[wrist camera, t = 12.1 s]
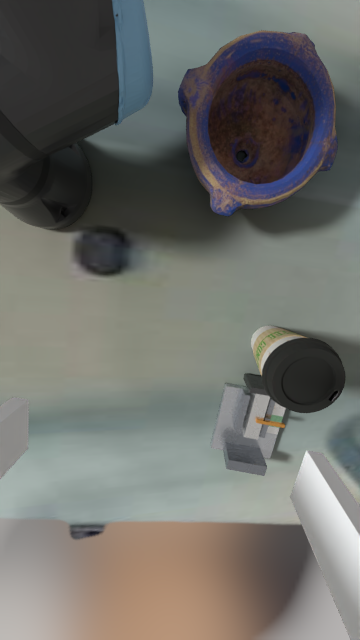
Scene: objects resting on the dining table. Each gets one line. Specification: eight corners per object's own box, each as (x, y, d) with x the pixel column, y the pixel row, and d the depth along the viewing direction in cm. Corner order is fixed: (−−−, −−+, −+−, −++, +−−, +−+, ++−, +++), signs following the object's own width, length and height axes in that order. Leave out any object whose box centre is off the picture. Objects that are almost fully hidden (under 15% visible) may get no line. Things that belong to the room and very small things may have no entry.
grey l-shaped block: (224, 382, 44) (229, 399, 39) (286, 393, 44) (299, 411, 39) (210, 443, 48) (212, 466, 42) (268, 454, 47) (277, 478, 42)
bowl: (314, 197, 36) (360, 172, 27) (205, 234, 38) (209, 223, 29) (291, 66, 33) (334, -18, 23) (172, 115, 35) (164, 56, 25)
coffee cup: (260, 305, 41) (298, 327, 26) (307, 332, 41) (369, 368, 27) (230, 350, 43) (250, 394, 28) (275, 375, 43) (317, 430, 29)
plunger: (244, 373, 43) (251, 387, 38) (287, 381, 43) (299, 395, 38) (231, 423, 45) (236, 442, 41) (271, 431, 45) (281, 450, 41)
